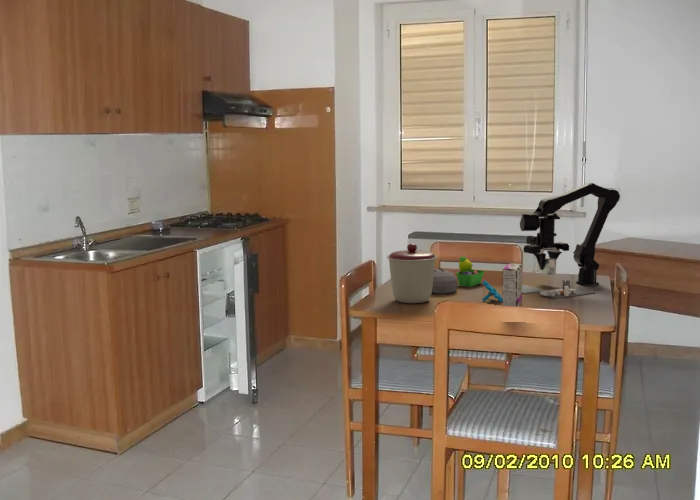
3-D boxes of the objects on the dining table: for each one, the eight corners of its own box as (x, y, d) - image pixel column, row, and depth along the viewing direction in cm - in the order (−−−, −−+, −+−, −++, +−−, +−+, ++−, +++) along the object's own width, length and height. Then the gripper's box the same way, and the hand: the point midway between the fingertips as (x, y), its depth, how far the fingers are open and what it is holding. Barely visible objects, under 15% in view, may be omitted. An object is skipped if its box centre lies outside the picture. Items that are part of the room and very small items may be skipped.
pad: (523, 285, 290) (523, 284, 290) (545, 291, 278) (545, 290, 278) (503, 288, 286) (503, 286, 286) (524, 294, 274) (524, 292, 274)
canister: (397, 307, 254) (397, 248, 251) (380, 297, 271) (380, 241, 268) (445, 304, 259) (445, 245, 256) (425, 294, 276) (425, 239, 273)
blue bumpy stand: (502, 300, 255) (483, 279, 257) (490, 311, 257) (471, 290, 259) (507, 298, 266) (488, 278, 268) (495, 309, 267) (476, 289, 269)
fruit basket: (472, 287, 288) (472, 259, 286) (452, 285, 293) (452, 257, 291) (485, 283, 297) (485, 256, 295) (465, 281, 302) (466, 254, 300)
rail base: (578, 289, 281) (578, 279, 280) (595, 293, 273) (596, 283, 272) (538, 294, 273) (539, 283, 272) (555, 298, 265) (555, 287, 264)
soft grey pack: (412, 286, 293) (426, 296, 274) (412, 265, 292) (426, 274, 273) (448, 284, 296) (464, 294, 276) (448, 264, 295) (465, 272, 275)
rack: (567, 290, 275) (567, 279, 275) (577, 293, 271) (577, 281, 270) (539, 294, 270) (540, 282, 269) (549, 296, 265) (549, 284, 265)
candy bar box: (507, 310, 247) (507, 263, 244) (522, 311, 245) (523, 263, 243) (501, 318, 236) (502, 268, 234) (516, 319, 235) (517, 269, 232)
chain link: (542, 270, 296) (542, 256, 295) (558, 274, 287) (558, 259, 286) (534, 271, 294) (534, 256, 293) (549, 275, 285) (550, 259, 284)
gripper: (552, 227, 299) (551, 264, 301) (515, 230, 292) (514, 268, 294) (570, 229, 289) (569, 268, 291) (533, 232, 281) (532, 272, 284)
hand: (546, 269), depth 290 cm, fingers closed on chain link, 4 cm apart
